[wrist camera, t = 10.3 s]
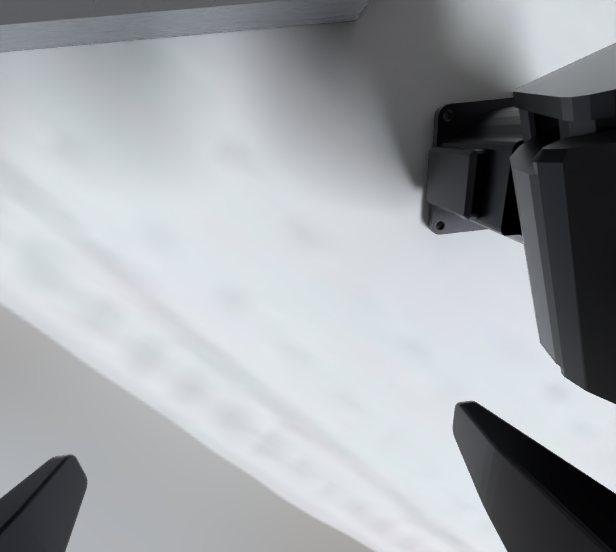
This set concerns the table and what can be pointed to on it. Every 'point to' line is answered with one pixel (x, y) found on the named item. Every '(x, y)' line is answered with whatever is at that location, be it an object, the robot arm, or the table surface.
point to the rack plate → (154, 19)
